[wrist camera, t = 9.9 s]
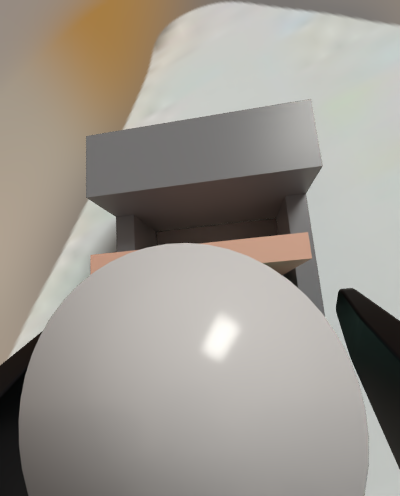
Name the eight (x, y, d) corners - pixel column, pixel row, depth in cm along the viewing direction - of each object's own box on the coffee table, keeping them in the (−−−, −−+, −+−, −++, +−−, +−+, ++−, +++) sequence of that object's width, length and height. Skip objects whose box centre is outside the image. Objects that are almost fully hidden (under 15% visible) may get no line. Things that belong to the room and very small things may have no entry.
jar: (260, 405, 16) (314, 727, 4) (159, 366, 17) (-32, 523, 5) (288, 298, 17) (405, 298, 5) (190, 268, 18) (86, 208, 6)
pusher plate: (276, 278, 17) (312, 258, 8) (164, 288, 18) (90, 279, 9) (274, 265, 17) (308, 232, 8) (164, 275, 18) (90, 255, 9)
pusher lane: (321, 422, 16) (383, 519, 9) (149, 425, 17) (86, 511, 10) (285, 172, 18) (311, 98, 12) (140, 192, 20) (86, 136, 13)
